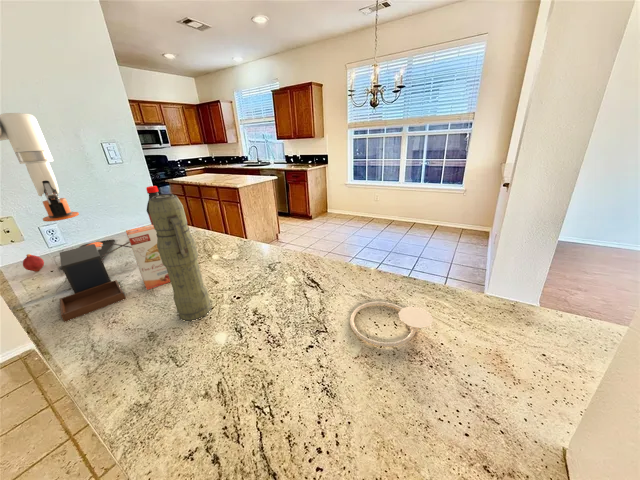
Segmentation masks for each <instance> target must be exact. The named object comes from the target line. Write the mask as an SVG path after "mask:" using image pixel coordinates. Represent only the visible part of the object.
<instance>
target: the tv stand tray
mask: <svg viewBox="0 0 640 480" xmlns="http://www.w3.org/2000/svg"><path fill="white" fill-rule="evenodd" d="M123 299H124V300H126V299H127V298H126V296H125V293H124V291H123V289H122V287H121V285H120V283H119V282H118V280H117V279H114V280H111V282H108V283H105V284H102V285H99V286H96V287H93V288H90V289H87V290H84V291H81V292H78V293H72V294H69V295H67V296H63V297H60V298H59V310H60V317H61V319H62V320H63V322H64V323H66V322H69V321H71V320H70V319H72V320H74V319H76V317H77V318H80V317H82V316H85V315H87V314H90V313H92V311H93V312H95V311H97V310H100V309H101V310H102V309H104V308H106V307H109V306H111V305H113V303H114V304H117V303H119V302H121V300H122V301H124V300H123ZM118 301H119V302H118ZM89 312H90V313H89ZM84 314H85V315H84ZM73 318H74V319H73ZM68 320H69V321H68ZM65 321H66V322H65Z"/></svg>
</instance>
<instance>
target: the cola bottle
mask: <svg viewBox="0 0 640 480" xmlns="http://www.w3.org/2000/svg"><path fill="white" fill-rule="evenodd" d="M145 190H146V193H147V195H148V201H147V204H146V213H147V215H148V219H149V221H150V225H153V222H152V219H151V216H150V213H149V199H151V198H152V197H154V196H157V195H160V193H159V192H160V191H159V188H158V186H157V185H149V186H147V187H145Z"/></svg>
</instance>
